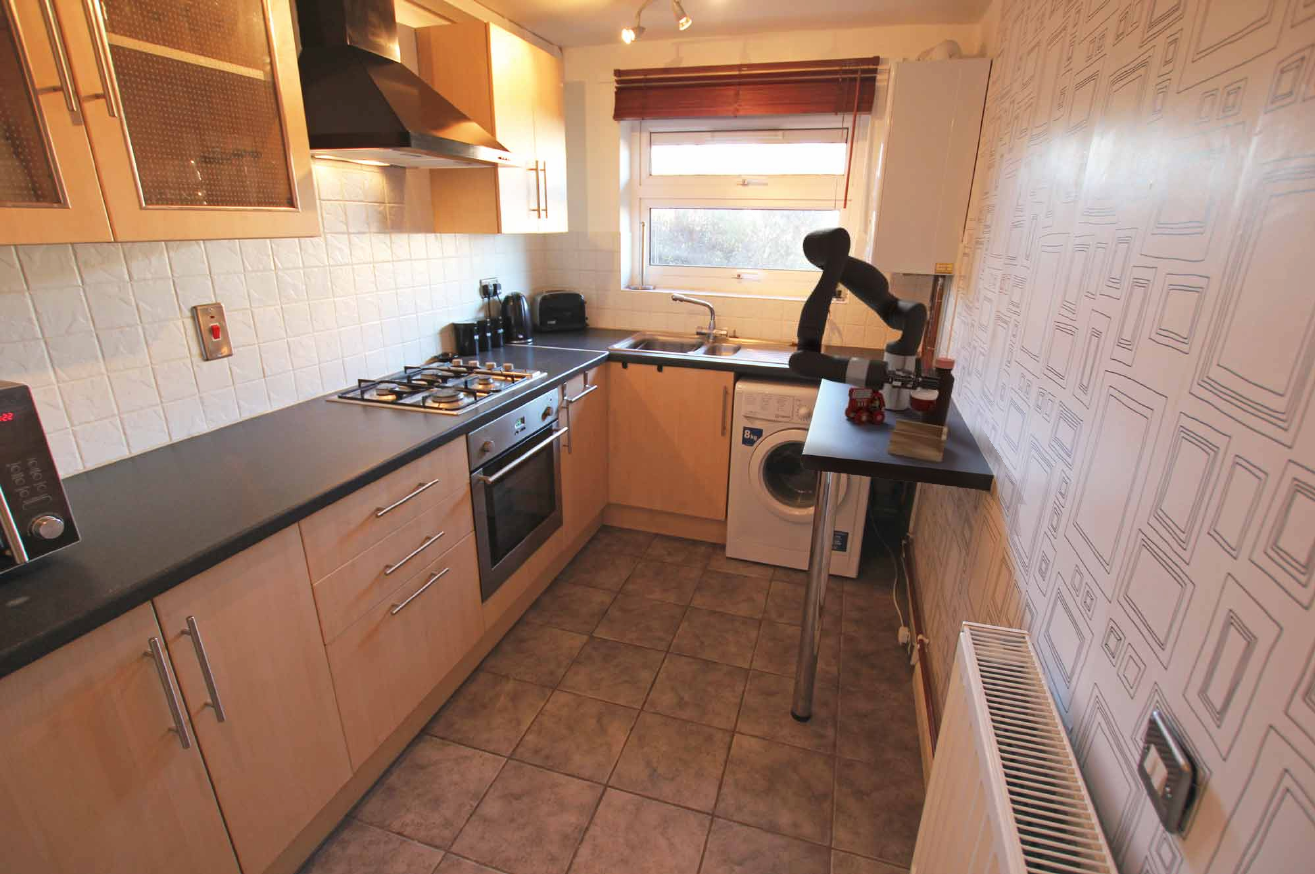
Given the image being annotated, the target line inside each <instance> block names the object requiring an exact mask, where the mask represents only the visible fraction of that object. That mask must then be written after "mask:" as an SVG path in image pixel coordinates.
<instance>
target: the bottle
mask: <svg viewBox="0 0 1315 874" xmlns="http://www.w3.org/2000/svg"><path fill="white" fill-rule="evenodd" d="M955 362H956V360H955V359H953V358H948V357H936V358H935V361H934V371H932V372H930V374H929V375H928V376H931V377H938V378H940V381H939V385H938V389H937V391H938V392H939V393H938V396H937V400H936V407H935V408H934V409H933V410H931V411H928V412H920V417H919V422H918V423H924V424H930V425H936V426H942V427H944V426H946V422H947V417H948V412H949V409H950V403H951V398H952V394H953V390H954V385H955V380H956V379H955V376H954V375H953V374H952V371H953V370H954V367H955Z"/></svg>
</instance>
